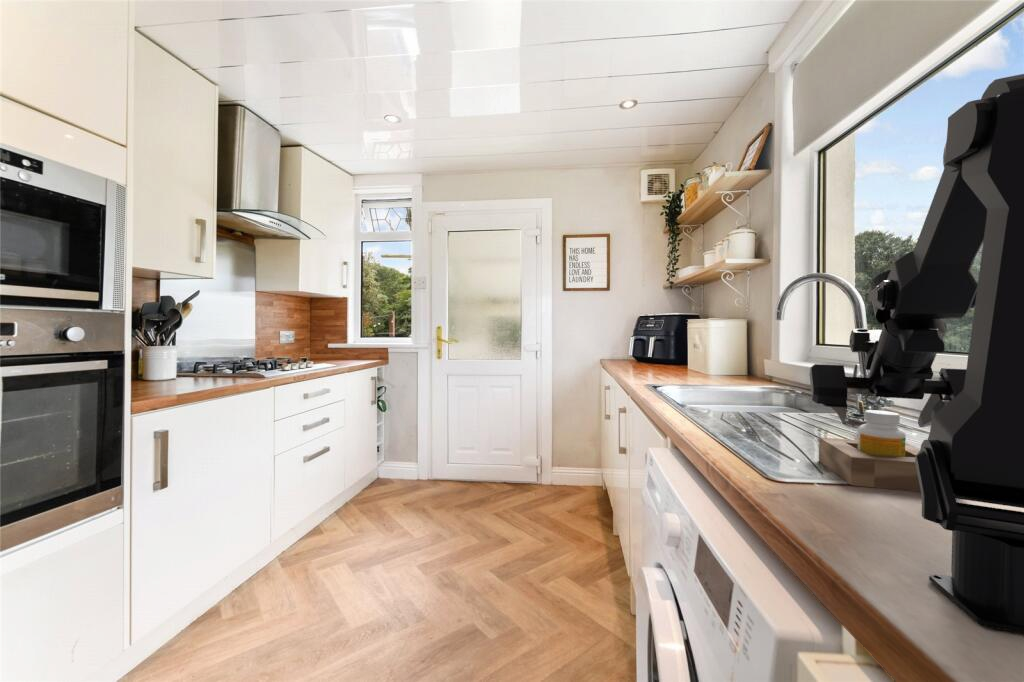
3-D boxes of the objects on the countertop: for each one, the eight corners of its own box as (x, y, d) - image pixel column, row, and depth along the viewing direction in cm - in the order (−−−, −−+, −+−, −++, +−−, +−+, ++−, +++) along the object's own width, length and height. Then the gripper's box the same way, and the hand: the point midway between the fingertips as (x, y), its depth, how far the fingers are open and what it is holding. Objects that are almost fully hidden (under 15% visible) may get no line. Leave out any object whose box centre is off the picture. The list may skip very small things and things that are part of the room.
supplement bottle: (910, 485, 61) (912, 417, 60) (862, 479, 63) (864, 413, 63) (897, 474, 65) (898, 410, 65) (853, 469, 68) (854, 407, 68)
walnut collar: (958, 495, 57) (959, 465, 57) (851, 485, 60) (851, 457, 60) (906, 468, 68) (907, 443, 68) (818, 461, 72) (819, 437, 72)
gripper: (986, 308, 56) (949, 384, 66) (812, 310, 65) (802, 377, 75) (1018, 373, 49) (971, 447, 59) (819, 366, 58) (807, 431, 68)
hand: (879, 421), depth 65 cm, fingers open, 9 cm apart
